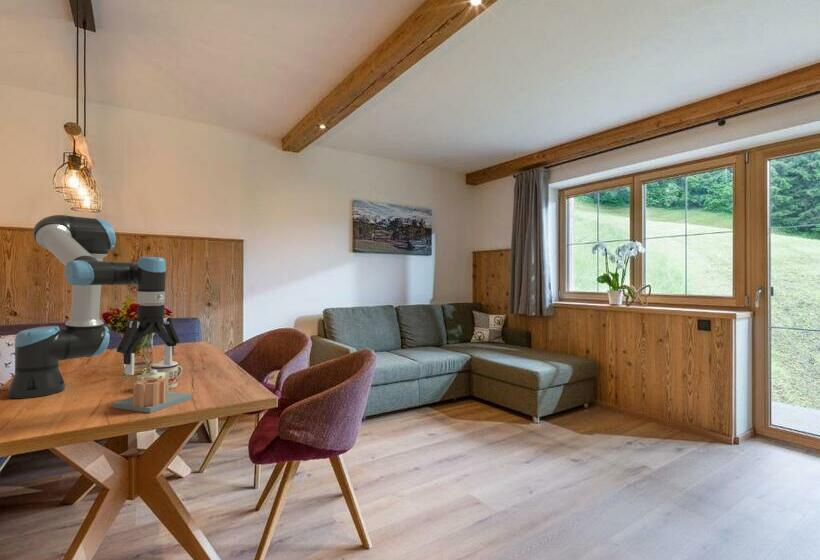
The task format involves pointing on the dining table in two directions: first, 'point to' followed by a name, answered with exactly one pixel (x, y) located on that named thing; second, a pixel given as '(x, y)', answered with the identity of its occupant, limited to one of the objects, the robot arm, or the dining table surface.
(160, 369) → the teacup with lid
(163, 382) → the loose gear
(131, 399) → the gear board
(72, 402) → the dining table surface
